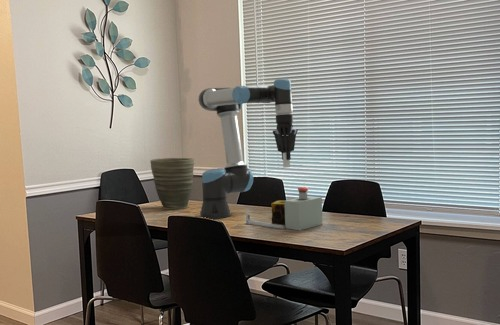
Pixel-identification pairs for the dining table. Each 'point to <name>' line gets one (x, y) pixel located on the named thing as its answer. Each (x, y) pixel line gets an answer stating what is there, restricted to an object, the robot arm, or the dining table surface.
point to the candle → (278, 212)
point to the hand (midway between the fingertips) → (286, 167)
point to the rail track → (263, 223)
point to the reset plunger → (303, 193)
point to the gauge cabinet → (303, 213)
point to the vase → (173, 181)
